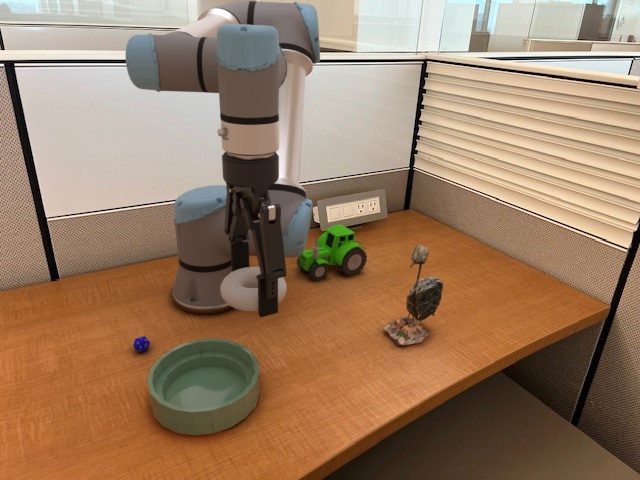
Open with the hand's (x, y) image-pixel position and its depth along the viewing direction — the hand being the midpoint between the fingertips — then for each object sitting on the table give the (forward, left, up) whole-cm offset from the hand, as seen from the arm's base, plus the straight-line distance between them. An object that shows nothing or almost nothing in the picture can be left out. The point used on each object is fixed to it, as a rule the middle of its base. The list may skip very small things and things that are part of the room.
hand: (253, 296), depth 73 cm
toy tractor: (-28, +30, -16) cm, 44 cm away
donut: (0, 0, 0) cm, 0 cm away
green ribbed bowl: (+1, -8, -16) cm, 18 cm away
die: (-15, -15, -16) cm, 27 cm away
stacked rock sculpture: (+1, +32, -16) cm, 35 cm away
